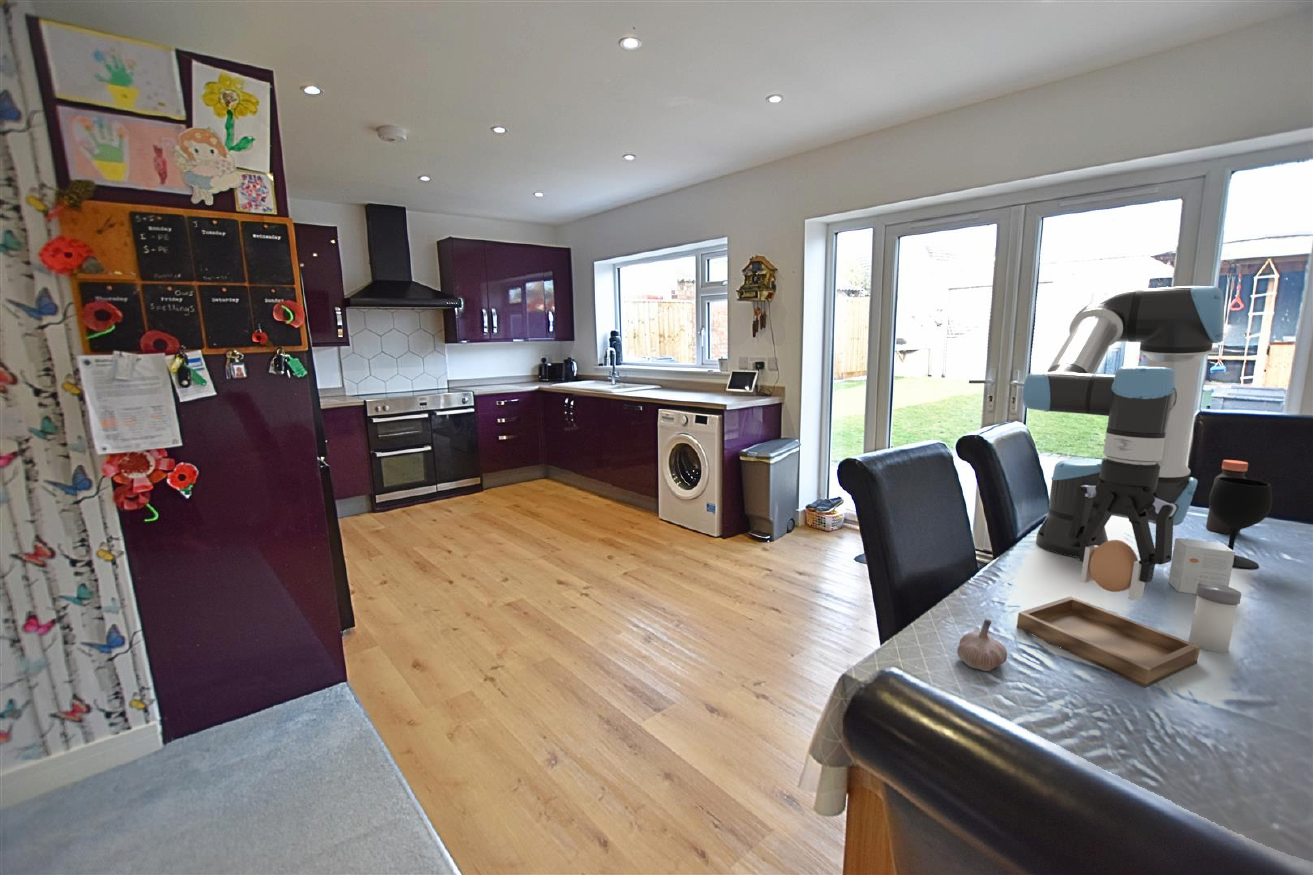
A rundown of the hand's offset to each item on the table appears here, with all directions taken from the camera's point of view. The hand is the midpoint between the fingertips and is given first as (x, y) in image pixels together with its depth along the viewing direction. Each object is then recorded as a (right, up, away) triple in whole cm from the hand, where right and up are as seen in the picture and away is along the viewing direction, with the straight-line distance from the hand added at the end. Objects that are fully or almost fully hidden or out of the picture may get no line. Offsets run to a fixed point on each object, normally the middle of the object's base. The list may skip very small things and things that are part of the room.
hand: (1110, 588), depth 97 cm
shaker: (+19, -10, +2) cm, 22 cm away
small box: (+37, -7, +23) cm, 45 cm away
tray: (0, -10, +2) cm, 10 cm away
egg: (0, 0, 0) cm, 0 cm away
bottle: (+81, 0, +60) cm, 101 cm away
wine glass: (+61, -4, +39) cm, 72 cm away
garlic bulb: (-25, -12, -4) cm, 28 cm away
